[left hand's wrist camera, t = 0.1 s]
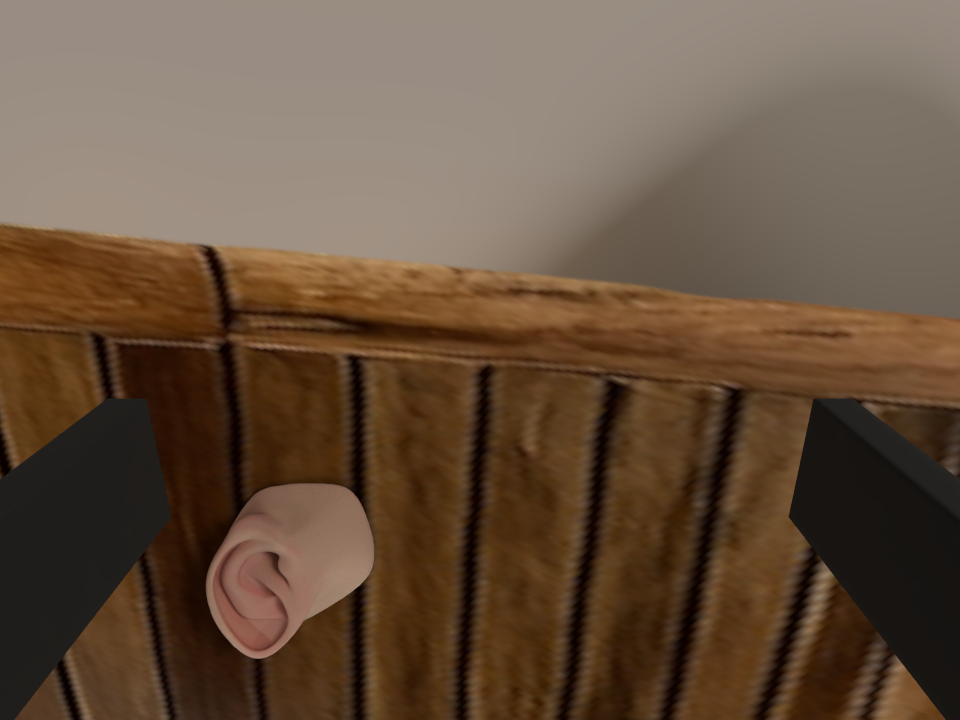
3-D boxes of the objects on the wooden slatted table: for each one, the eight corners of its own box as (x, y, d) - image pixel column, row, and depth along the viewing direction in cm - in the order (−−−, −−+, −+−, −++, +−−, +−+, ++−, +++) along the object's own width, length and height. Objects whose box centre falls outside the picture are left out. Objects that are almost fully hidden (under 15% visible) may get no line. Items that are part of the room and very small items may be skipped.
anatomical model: (317, 488, 41) (404, 613, 44) (330, 457, 44) (409, 574, 48) (151, 563, 43) (247, 676, 46) (177, 527, 46) (264, 635, 50)
